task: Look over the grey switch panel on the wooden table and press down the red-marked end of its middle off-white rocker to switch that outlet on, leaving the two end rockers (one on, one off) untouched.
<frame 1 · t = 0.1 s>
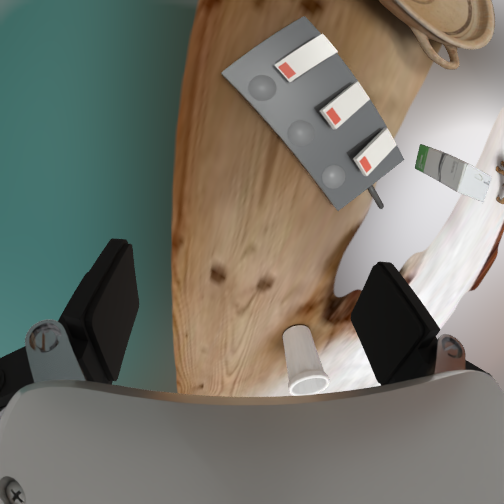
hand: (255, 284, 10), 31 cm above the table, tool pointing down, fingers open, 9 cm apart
grey switch panel: (319, 113, 34), on the table
middle rocker: (346, 104, 30), point 5 cm above the table, hinge at -15.0°
ink box: (432, 161, 39), on the table
lion figurine: (498, 176, 40), on the table
far-end rocker: (306, 57, 26), point 5 cm above the table, hinge at 15.0°
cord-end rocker: (376, 151, 33), point 5 cm above the table, hinge at -15.0°
cup: (296, 332, 58), on the table
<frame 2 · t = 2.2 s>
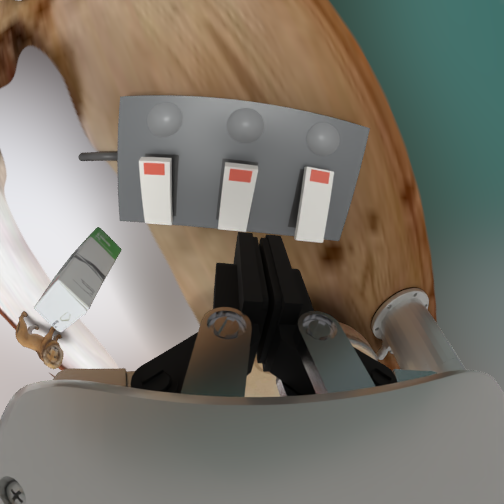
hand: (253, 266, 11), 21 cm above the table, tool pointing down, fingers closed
grey switch panel: (238, 162, 29), on the table
middle rocker: (236, 199, 26), point 5 cm above the table, hinge at -15.0°
ink box: (94, 253, 34), on the table
lion figurine: (46, 324, 41), on the table
far-end rocker: (314, 205, 27), point 5 cm above the table, hinge at 15.0°
ceramic bowl: (284, 347, 47), on the table
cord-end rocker: (156, 193, 25), point 5 cm above the table, hinge at -15.0°
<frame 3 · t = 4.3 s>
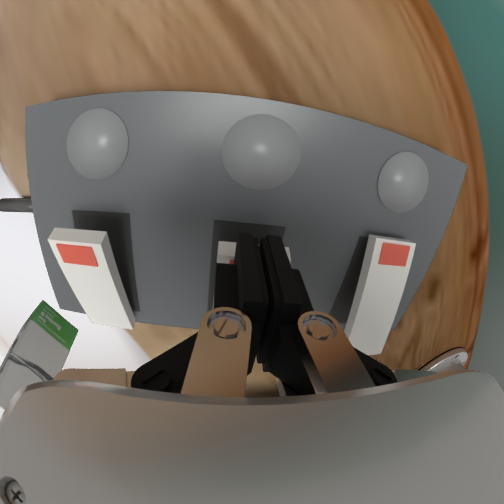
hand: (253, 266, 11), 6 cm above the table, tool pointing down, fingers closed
grey switch panel: (244, 215, 17), on the table
middle rocker: (242, 302, 14), point 5 cm above the table, hinge at -15.0°, touching gripper
ink box: (48, 327, 21), on the table
far-end rocker: (378, 301, 15), point 5 cm above the table, hinge at 15.0°
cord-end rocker: (96, 287, 13), point 5 cm above the table, hinge at -15.0°
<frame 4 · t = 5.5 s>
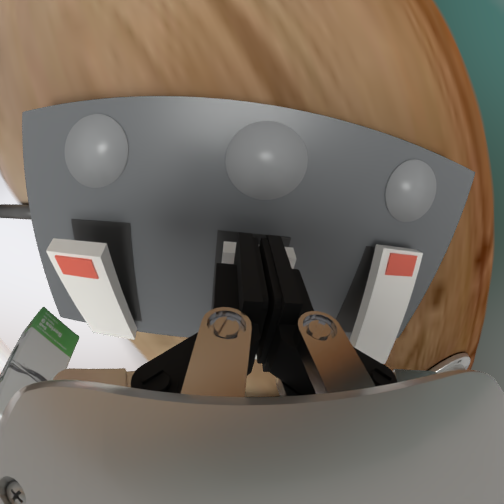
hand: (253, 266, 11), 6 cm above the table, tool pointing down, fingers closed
grey switch panel: (248, 223, 16), on the table
middle rocker: (247, 312, 13), point 5 cm above the table, hinge at -4.2°, touching gripper
ink box: (49, 333, 21), on the table
far-end rocker: (383, 311, 14), point 5 cm above the table, hinge at 15.0°
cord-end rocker: (96, 298, 12), point 5 cm above the table, hinge at -15.0°
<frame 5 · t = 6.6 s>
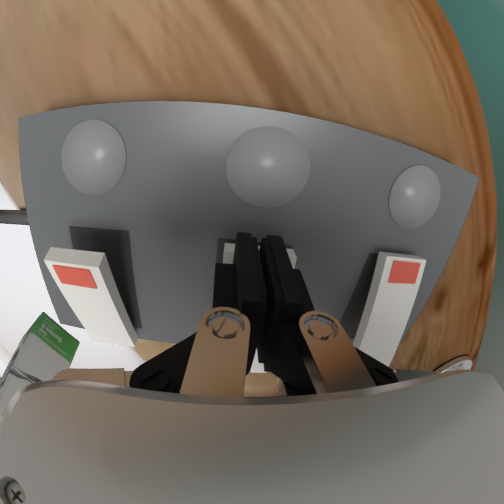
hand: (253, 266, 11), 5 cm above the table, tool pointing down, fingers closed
grey switch panel: (249, 230, 16), on the table
middle rocker: (248, 319, 13), point 5 cm above the table, hinge at 4.1°, touching gripper
ink box: (49, 338, 21), on the table
far-end rocker: (386, 318, 14), point 5 cm above the table, hinge at 15.0°
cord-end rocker: (96, 306, 12), point 5 cm above the table, hinge at -15.0°
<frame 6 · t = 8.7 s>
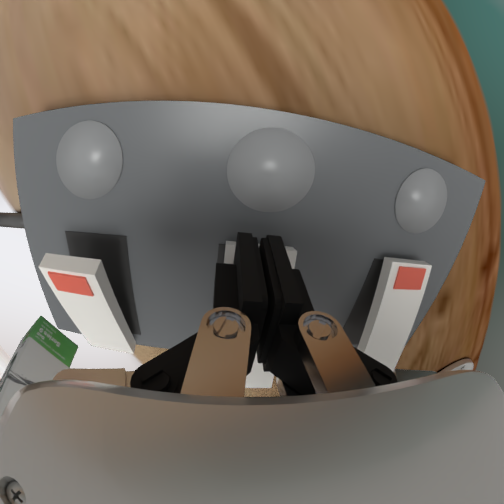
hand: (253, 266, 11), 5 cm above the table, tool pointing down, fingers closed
grey switch panel: (251, 234, 15), on the table
middle rocker: (251, 324, 13), point 5 cm above the table, hinge at 16.8°, touching gripper
ink box: (47, 341, 20), on the table
far-end rocker: (390, 325, 14), point 5 cm above the table, hinge at 15.0°
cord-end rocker: (93, 313, 12), point 5 cm above the table, hinge at -15.0°
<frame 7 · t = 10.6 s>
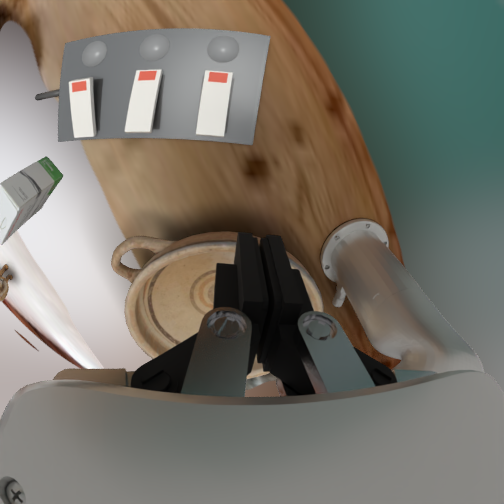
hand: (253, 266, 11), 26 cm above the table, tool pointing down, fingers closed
grey switch panel: (155, 83, 27), on the table
middle rocker: (143, 100, 24), point 5 cm above the table, hinge at 18.3°
ink box: (43, 183, 32), on the table
lion figurine: (0, 266, 39), on the table
far-end rocker: (214, 102, 26), point 5 cm above the table, hinge at 15.0°
ceramic bowl: (224, 286, 46), on the table
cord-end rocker: (82, 108, 23), point 5 cm above the table, hinge at -15.0°
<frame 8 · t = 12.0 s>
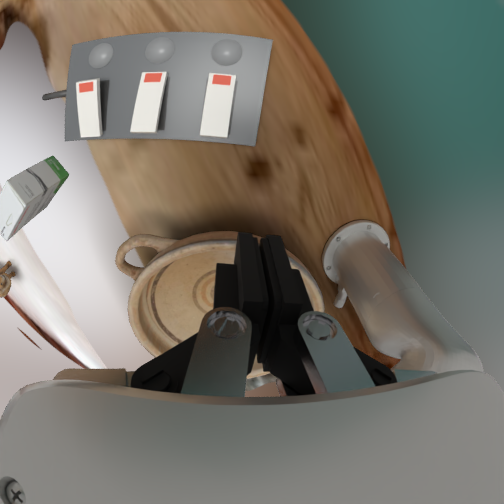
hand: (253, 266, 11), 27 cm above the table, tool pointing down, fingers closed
grey switch panel: (160, 85, 28), on the table
middle rocker: (148, 101, 25), point 5 cm above the table, hinge at 18.7°
ink box: (49, 181, 33), on the table
lion figurine: (4, 262, 40), on the table
far-end rocker: (218, 104, 27), point 5 cm above the table, hinge at 15.0°
ceramic bowl: (226, 286, 46), on the table
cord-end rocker: (88, 108, 25), point 5 cm above the table, hinge at -15.0°
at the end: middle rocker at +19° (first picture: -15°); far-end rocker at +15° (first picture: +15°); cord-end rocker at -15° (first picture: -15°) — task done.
